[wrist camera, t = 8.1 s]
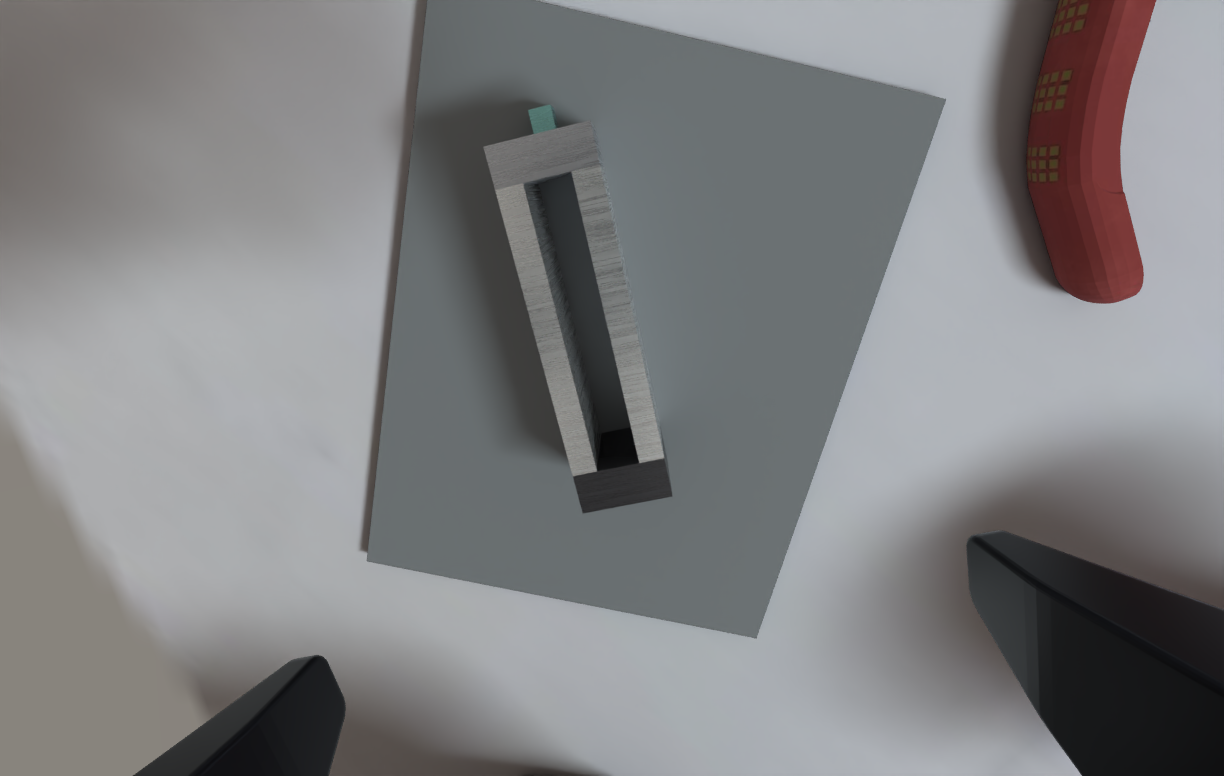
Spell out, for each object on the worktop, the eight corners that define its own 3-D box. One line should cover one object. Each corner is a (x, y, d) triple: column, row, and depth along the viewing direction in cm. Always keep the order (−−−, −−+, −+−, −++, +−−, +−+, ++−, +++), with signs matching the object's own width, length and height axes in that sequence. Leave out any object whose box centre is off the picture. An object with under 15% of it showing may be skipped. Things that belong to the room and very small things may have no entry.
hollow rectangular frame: (672, 496, 18) (581, 83, 14) (582, 513, 18) (473, 110, 15) (666, 455, 20) (589, 99, 17) (588, 470, 20) (497, 122, 17)
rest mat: (754, 630, 23) (756, 638, 22) (371, 554, 22) (366, 560, 22) (939, 100, 17) (945, 99, 17) (434, -21, 17) (429, -25, 16)
